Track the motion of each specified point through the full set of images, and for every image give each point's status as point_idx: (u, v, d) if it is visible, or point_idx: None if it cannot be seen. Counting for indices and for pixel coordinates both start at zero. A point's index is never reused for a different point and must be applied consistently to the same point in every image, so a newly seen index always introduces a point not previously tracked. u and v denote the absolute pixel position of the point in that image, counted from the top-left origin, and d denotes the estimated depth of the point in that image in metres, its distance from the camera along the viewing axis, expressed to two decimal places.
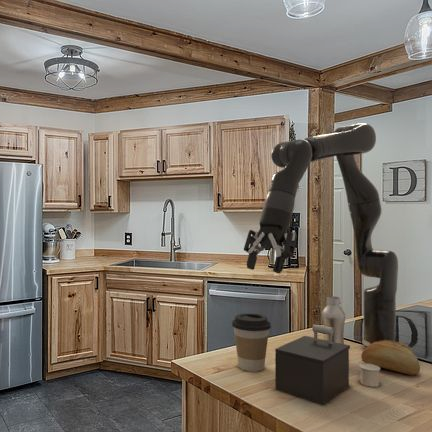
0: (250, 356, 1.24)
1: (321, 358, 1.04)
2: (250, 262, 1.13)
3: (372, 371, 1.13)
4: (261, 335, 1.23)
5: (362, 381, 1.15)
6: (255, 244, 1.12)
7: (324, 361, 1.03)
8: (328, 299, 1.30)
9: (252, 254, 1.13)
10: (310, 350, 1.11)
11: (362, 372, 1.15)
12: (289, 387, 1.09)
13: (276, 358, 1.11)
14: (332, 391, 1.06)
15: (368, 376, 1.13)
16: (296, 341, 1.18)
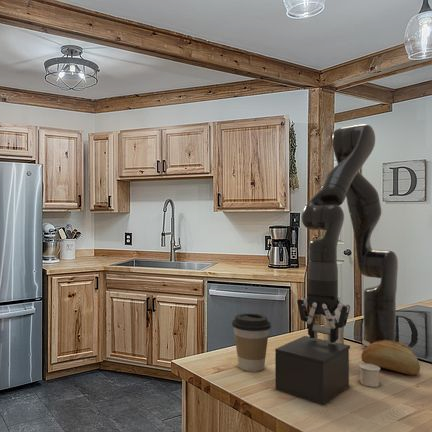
0: (250, 356, 1.24)
1: (321, 358, 1.04)
2: (312, 332, 1.18)
3: (372, 371, 1.13)
4: (261, 335, 1.23)
5: (362, 381, 1.15)
6: (312, 314, 1.17)
7: (324, 361, 1.03)
8: None
9: (312, 323, 1.18)
10: (310, 350, 1.11)
11: (362, 372, 1.15)
12: (289, 387, 1.09)
13: (276, 358, 1.11)
14: (332, 391, 1.06)
15: (368, 376, 1.13)
16: (296, 341, 1.18)
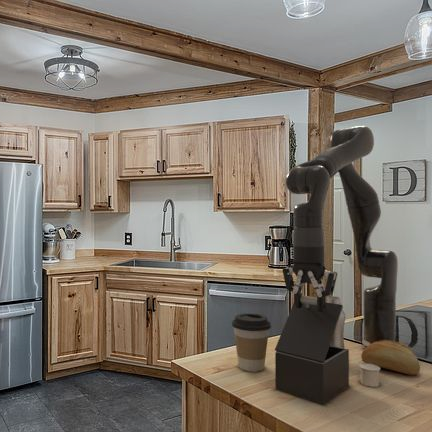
0: (250, 356, 1.24)
1: (319, 355, 1.04)
2: (298, 302, 1.13)
3: (372, 371, 1.13)
4: (261, 335, 1.23)
5: (362, 381, 1.15)
6: (297, 283, 1.12)
7: (324, 359, 1.03)
8: (328, 299, 1.30)
9: (298, 293, 1.13)
10: (307, 336, 1.09)
11: (362, 372, 1.15)
12: (289, 387, 1.09)
13: (276, 358, 1.11)
14: (332, 391, 1.06)
15: (368, 376, 1.13)
16: (290, 318, 1.15)
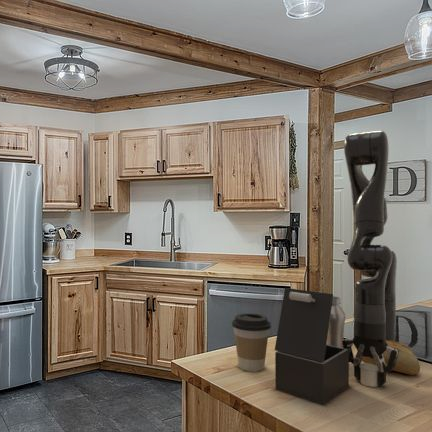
0: (250, 356, 1.24)
1: (318, 355, 1.03)
2: (358, 374, 1.16)
3: (372, 371, 1.13)
4: (261, 335, 1.23)
5: (362, 381, 1.15)
6: (358, 357, 1.16)
7: (323, 359, 1.03)
8: None
9: None
10: (303, 334, 1.08)
11: (362, 372, 1.15)
12: (289, 387, 1.09)
13: (276, 358, 1.11)
14: (332, 391, 1.06)
15: (369, 376, 1.13)
16: (283, 313, 1.13)
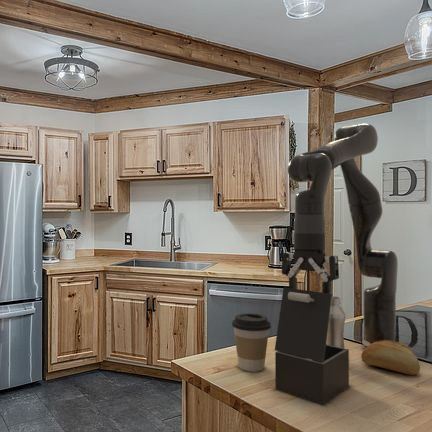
0: (250, 356, 1.24)
1: (318, 355, 1.03)
2: (293, 286, 1.14)
3: None
4: (261, 335, 1.23)
5: None
6: (295, 269, 1.12)
7: (323, 359, 1.03)
8: None
9: (293, 278, 1.14)
10: (303, 334, 1.07)
11: None
12: (289, 387, 1.09)
13: (276, 358, 1.11)
14: (332, 391, 1.06)
15: None
16: (283, 313, 1.13)
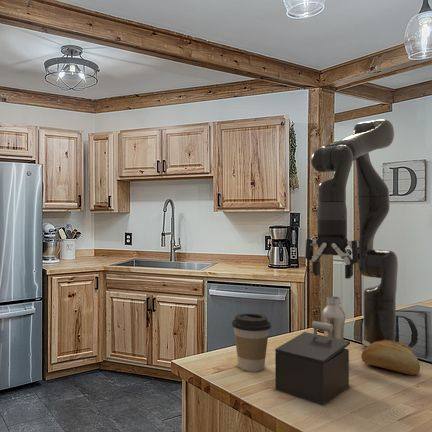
0: (250, 356, 1.24)
1: (321, 358, 1.04)
2: (316, 270, 1.22)
3: None
4: (261, 335, 1.23)
5: None
6: (318, 253, 1.20)
7: (324, 361, 1.03)
8: (328, 299, 1.30)
9: (316, 262, 1.22)
10: (310, 348, 1.10)
11: None
12: (289, 387, 1.09)
13: (276, 358, 1.11)
14: (332, 391, 1.06)
15: None
16: (296, 339, 1.18)
